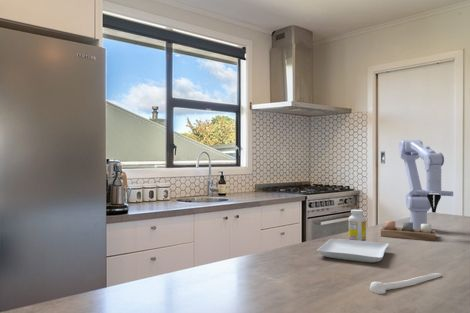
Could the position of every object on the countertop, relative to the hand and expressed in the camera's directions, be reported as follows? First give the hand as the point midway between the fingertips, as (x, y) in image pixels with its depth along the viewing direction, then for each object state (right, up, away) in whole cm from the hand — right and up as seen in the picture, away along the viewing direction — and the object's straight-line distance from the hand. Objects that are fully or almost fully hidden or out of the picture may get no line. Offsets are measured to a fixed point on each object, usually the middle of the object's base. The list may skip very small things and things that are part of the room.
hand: (433, 212), depth 163 cm
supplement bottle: (-37, -11, -11) cm, 40 cm away
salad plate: (-44, -11, -30) cm, 55 cm away
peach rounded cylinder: (-17, -8, +4) cm, 19 cm away
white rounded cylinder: (-5, -8, -3) cm, 10 cm away
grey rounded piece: (-11, -8, 0) cm, 14 cm away
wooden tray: (-11, -10, +1) cm, 15 cm away
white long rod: (-39, -11, -60) cm, 72 cm away
